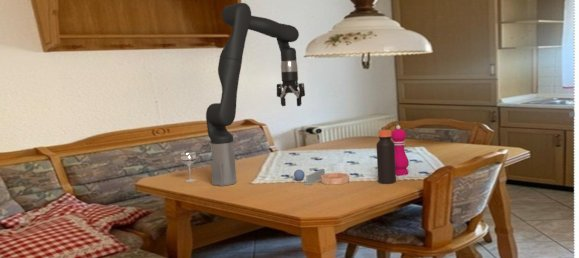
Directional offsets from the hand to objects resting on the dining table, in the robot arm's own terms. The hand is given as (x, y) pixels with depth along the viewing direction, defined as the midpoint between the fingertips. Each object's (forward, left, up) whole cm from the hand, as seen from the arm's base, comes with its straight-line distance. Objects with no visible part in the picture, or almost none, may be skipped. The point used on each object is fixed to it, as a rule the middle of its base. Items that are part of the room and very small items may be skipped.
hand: (291, 106), depth 263 cm
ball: (-25, -24, -28) cm, 44 cm away
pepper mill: (+2, -55, -28) cm, 61 cm away
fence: (-23, -31, -28) cm, 47 cm away
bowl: (-21, -39, -28) cm, 52 cm away
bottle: (-13, -58, -28) cm, 65 cm away
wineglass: (-46, +20, -28) cm, 57 cm away
